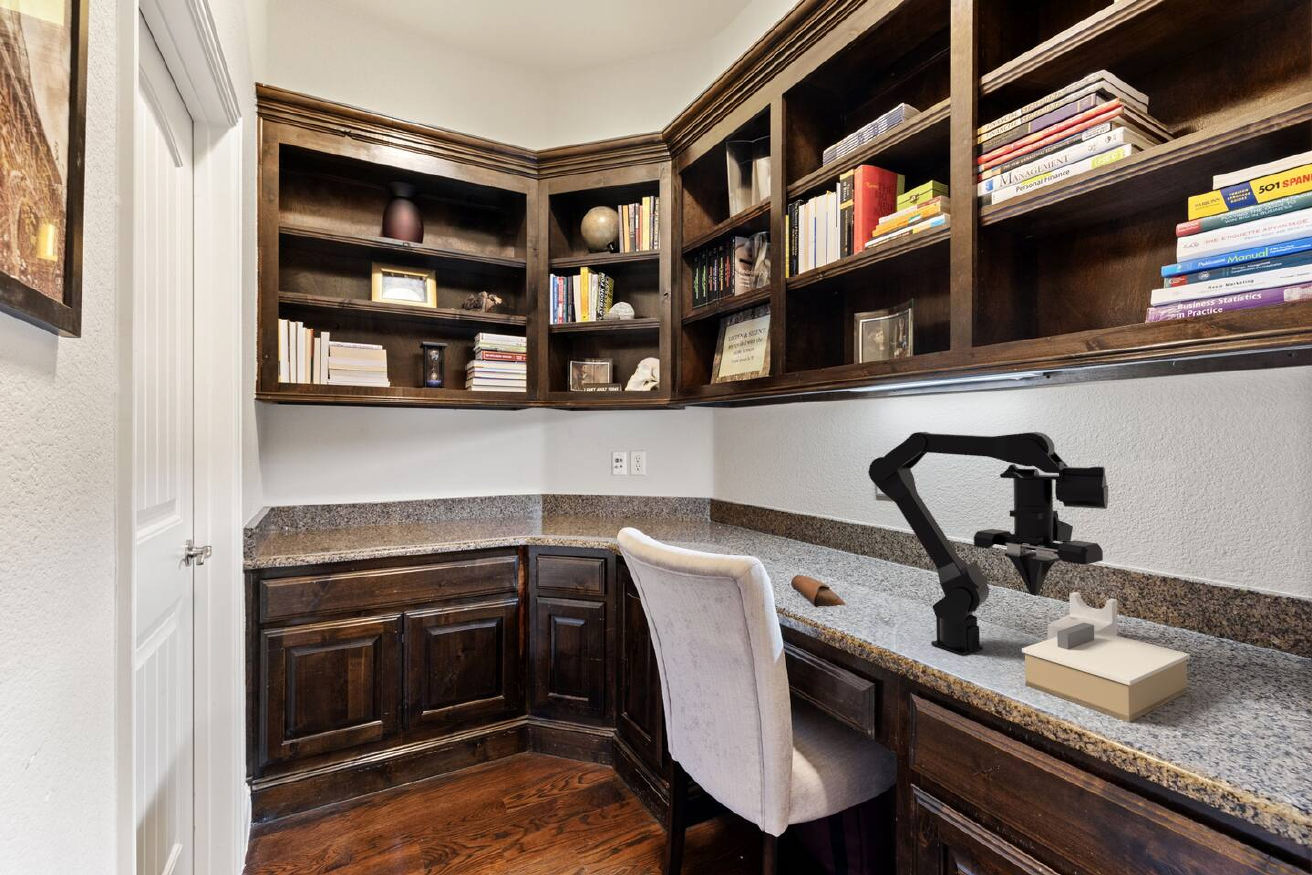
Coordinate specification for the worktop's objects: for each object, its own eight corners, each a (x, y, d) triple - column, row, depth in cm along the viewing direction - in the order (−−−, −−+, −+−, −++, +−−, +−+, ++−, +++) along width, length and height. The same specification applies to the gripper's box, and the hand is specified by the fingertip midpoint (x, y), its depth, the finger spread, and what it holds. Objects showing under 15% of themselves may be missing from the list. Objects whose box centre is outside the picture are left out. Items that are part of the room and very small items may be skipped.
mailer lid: (1022, 652, 95) (1021, 632, 95) (1084, 630, 104) (1083, 613, 104) (1129, 685, 83) (1129, 663, 83) (1190, 657, 92) (1189, 637, 92)
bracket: (1075, 628, 121) (1074, 591, 121) (1117, 638, 116) (1116, 599, 116) (1047, 643, 114) (1047, 603, 114) (1091, 654, 108) (1090, 612, 108)
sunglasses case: (849, 605, 140) (834, 581, 139) (824, 621, 139) (809, 598, 139) (821, 585, 158) (808, 564, 157) (799, 600, 157) (786, 579, 157)
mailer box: (1025, 685, 95) (1025, 654, 95) (1085, 662, 104) (1085, 633, 104) (1128, 722, 83) (1128, 686, 83) (1187, 692, 92) (1186, 659, 92)
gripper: (1119, 506, 99) (1120, 600, 99) (1007, 496, 115) (1008, 577, 116) (1083, 512, 94) (1084, 611, 94) (970, 501, 110) (972, 585, 110)
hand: (1034, 594), depth 103 cm, fingers closed
